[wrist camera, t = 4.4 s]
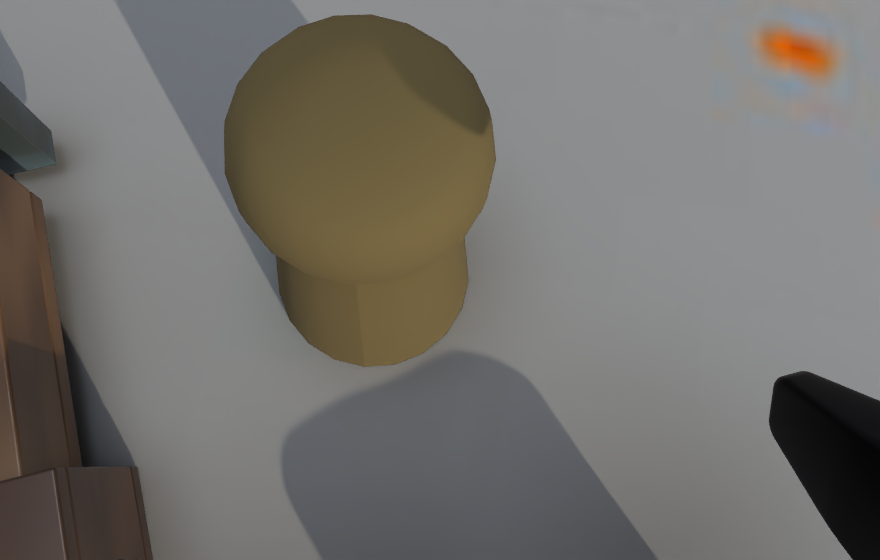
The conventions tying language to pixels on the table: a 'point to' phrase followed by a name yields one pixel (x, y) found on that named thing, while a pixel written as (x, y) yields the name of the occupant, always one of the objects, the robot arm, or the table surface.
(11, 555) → the cabinet
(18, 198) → the drawer
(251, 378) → the table surface
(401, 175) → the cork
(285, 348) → the table surface
